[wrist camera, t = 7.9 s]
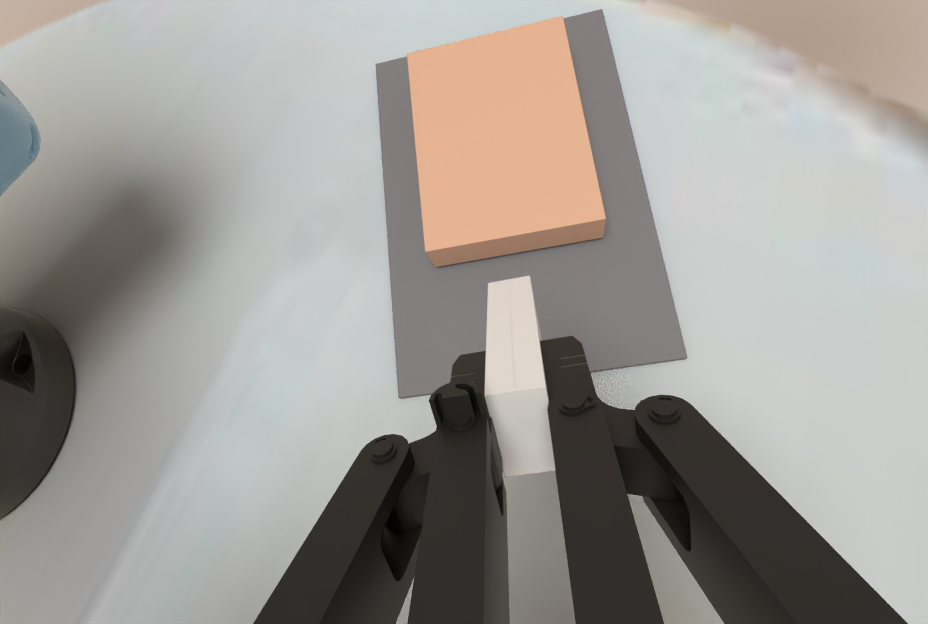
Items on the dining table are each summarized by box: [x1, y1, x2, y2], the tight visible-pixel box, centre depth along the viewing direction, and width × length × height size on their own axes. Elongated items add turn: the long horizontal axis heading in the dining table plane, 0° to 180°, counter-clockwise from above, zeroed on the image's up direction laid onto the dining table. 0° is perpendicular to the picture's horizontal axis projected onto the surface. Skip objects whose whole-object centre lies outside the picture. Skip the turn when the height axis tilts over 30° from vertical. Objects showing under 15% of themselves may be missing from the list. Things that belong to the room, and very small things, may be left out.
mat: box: [376, 9, 687, 398], centre depth 32 cm, size 24×16×1 cm, turn 6°
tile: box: [407, 16, 606, 267], centre depth 32 cm, size 3×10×14 cm
